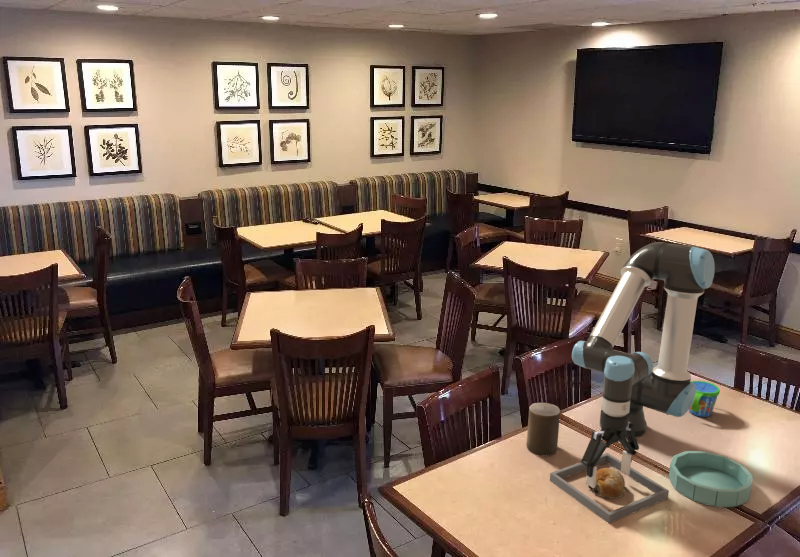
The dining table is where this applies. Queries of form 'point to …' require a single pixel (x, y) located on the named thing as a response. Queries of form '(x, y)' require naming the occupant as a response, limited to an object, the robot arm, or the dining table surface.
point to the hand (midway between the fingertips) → (608, 479)
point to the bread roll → (609, 483)
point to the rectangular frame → (608, 516)
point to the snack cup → (704, 398)
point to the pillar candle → (543, 428)
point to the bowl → (710, 478)
